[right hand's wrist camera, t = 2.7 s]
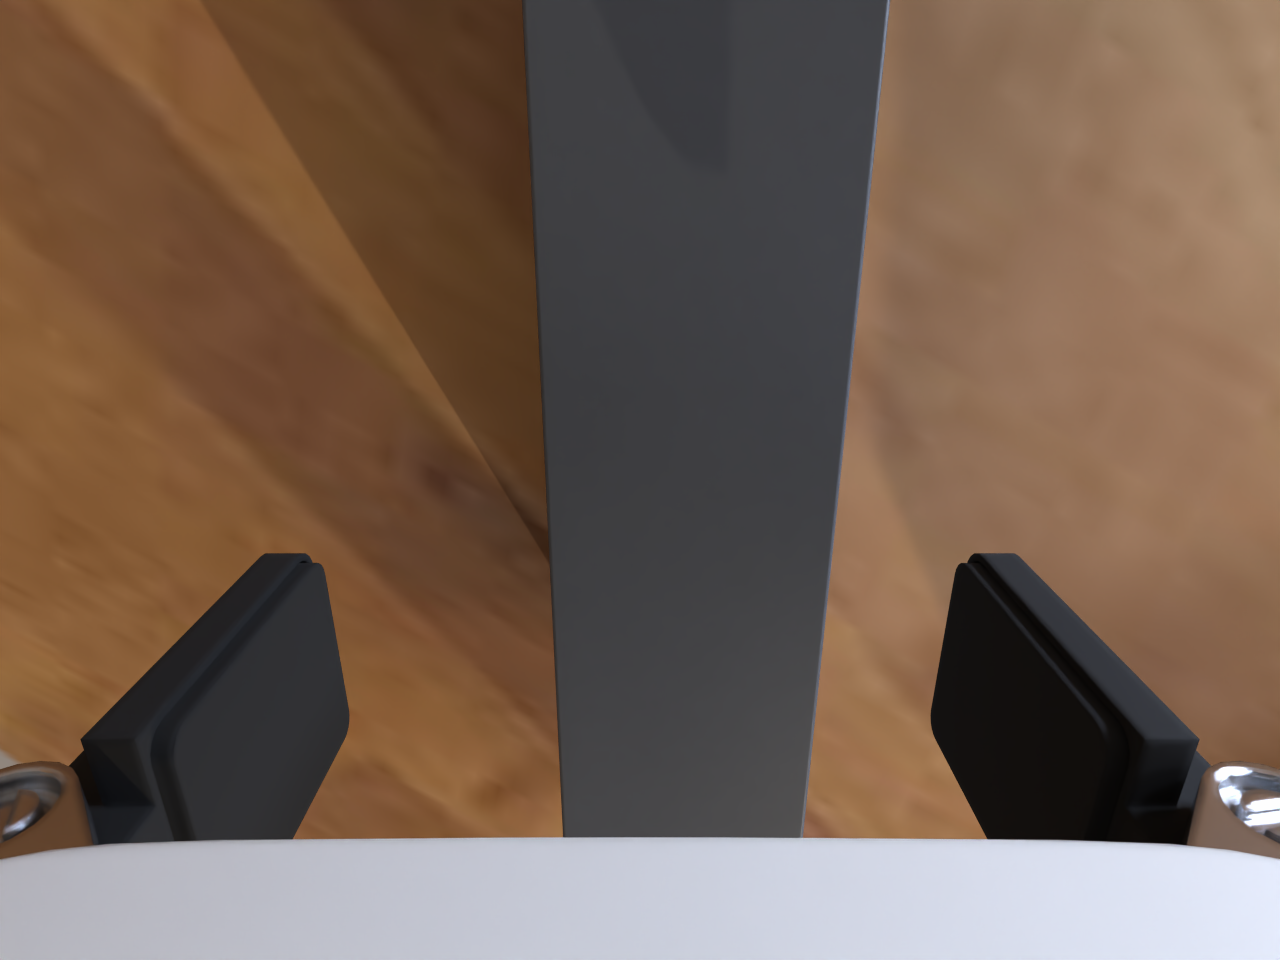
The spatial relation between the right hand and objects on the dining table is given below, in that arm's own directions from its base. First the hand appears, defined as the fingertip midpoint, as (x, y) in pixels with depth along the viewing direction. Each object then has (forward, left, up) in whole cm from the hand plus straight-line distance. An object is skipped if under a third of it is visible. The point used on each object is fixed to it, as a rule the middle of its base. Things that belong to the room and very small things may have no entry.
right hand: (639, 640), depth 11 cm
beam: (-17, -28, -11) cm, 34 cm away
